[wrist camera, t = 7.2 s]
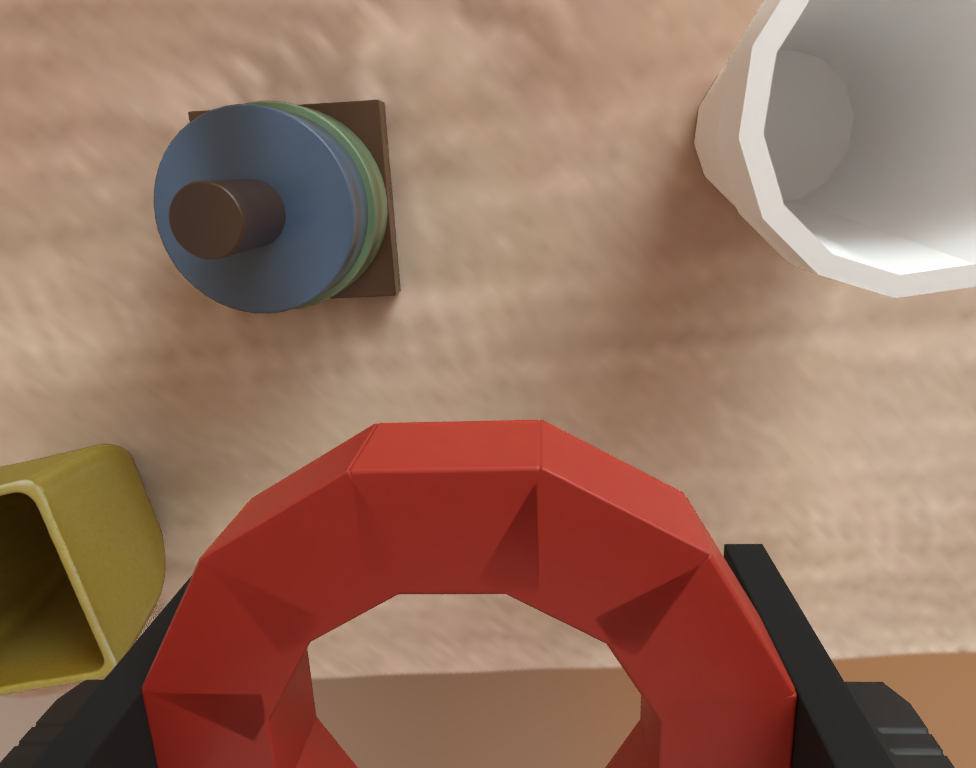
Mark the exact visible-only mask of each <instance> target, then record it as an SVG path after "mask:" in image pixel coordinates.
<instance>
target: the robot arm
mask: <svg viewBox="0 0 976 768" xmlns="http://www.w3.org/2000/svg"><path fill="white" fill-rule="evenodd" d="M724 559H725V560H726V562H727V563H728V565H729V567H730V568H731V570H732V572H733V573H734V575H735V576H736V578H737V580H738V581H739V583H740V585H741V586H742V588H743V590H744V591H745V593H746V594H747V596H748V598H749V599H750V601H751V603H752V604H753V606H754V608H755V609H756V611H757V612H758V614H759V616H760V618H761V620H762V622H763V624H764V626H765V628H766V630H767V632H768V634H769V636H770V638H771V640H772V642H773V644H774V646H775V648H776V650H777V652H778V654H779V656H780V658H781V660H782V662H783V665H784V667H785V669H786V671H787V673H788V675H789V677H790V679H791V681H792V683H793V685H794V687H795V691H796V694H797V705H796V716H795V728H794V739H793V750H792V762H791V768H954V766H953V765H952V763H951V762H950V760H949V759H948V757H947V756H944V755H943V750H942V749H941V748H940V746H939V745H938V743H937V742H936V740H935V739H934V737H933V736H932V734H929V733H928V729H927V727H926V726H925V724H924V723H923V721H922V720H921V719H920V717H919V716H918V714H917V713H916V711H915V710H914V708H913V707H912V706H911V704H910V703H909V702H907V701H906V700H905V699H903V698H902V697H901V696H900V695H898V694H897V693H896V692H894V691H893V690H892V689H891V688H889V687H888V686H887V685H885V684H884V683H883V682H844V681H843V679H842V677H841V676H840V674H839V672H838V671H837V669H836V667H835V666H834V664H833V662H832V661H831V659H830V657H829V656H828V654H827V652H826V650H825V649H824V647H823V645H822V644H821V642H820V640H819V639H818V637H817V635H816V634H815V632H814V630H813V629H812V627H811V625H810V624H809V622H808V620H807V619H806V617H805V615H804V614H803V612H802V610H801V608H800V607H799V605H798V603H797V602H796V600H795V598H794V597H793V595H792V593H791V592H790V590H789V588H788V587H787V585H786V583H785V582H784V580H783V578H782V577H781V575H780V573H779V571H778V570H777V568H776V566H775V565H774V563H773V561H772V560H771V558H770V556H769V555H768V553H767V551H766V550H765V548H764V546H763V545H762V544H724ZM191 577H192V576H191ZM191 577H190V578H189V580H188V581H187V582H186V583H185V584H184V585H183V587H182V588H181V589H180V590H179V591H178V593H177V594H176V595H175V596H174V597H173V598H172V600H171V601H170V602H169V603H168V604H167V606H166V607H165V608H164V609H163V610H162V611H161V613H160V614H159V615H158V616H157V617H156V619H155V620H154V621H153V622H152V623H151V625H150V626H149V627H148V628H147V629H146V630H145V632H144V633H143V634H142V635H141V636H140V638H139V639H138V640H137V641H136V642H135V643H134V645H133V646H132V647H131V648H130V649H129V651H128V652H127V653H126V654H125V655H124V657H123V658H122V659H121V660H120V661H119V662H118V664H117V665H116V666H115V667H114V668H113V670H112V671H111V672H110V673H109V674H108V675H107V677H106V678H105V679H104V680H85V681H83V682H82V683H80V684H79V685H77V686H76V687H75V688H73V689H72V690H70V691H69V692H67V693H66V694H64V695H63V696H61V697H60V698H59V699H57V700H56V701H55V702H54V703H53V705H52V706H51V707H50V708H49V709H48V710H47V711H46V712H45V713H44V715H43V716H42V717H41V718H40V719H39V720H38V721H37V722H36V726H35V727H32V728H31V729H30V730H29V731H28V732H27V734H26V735H25V736H24V737H23V738H22V739H21V740H20V741H19V746H15V747H14V748H13V749H12V750H11V751H10V752H9V753H8V754H7V756H6V757H5V758H4V759H3V760H2V761H1V762H0V768H158V766H157V761H156V756H155V752H154V747H153V742H152V737H151V733H150V728H149V723H148V718H147V714H146V709H145V704H144V699H143V695H142V686H143V683H144V681H145V679H146V677H147V675H148V672H149V670H150V668H151V666H152V663H153V661H154V659H155V657H156V655H157V652H158V650H159V648H160V646H161V644H162V641H163V639H164V637H165V635H166V632H167V630H168V628H169V626H170V624H171V621H172V619H173V617H174V615H175V612H176V610H177V608H178V606H179V604H180V601H181V599H182V597H183V595H184V593H185V590H186V588H187V586H188V584H189V581H190V579H191Z"/></svg>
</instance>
